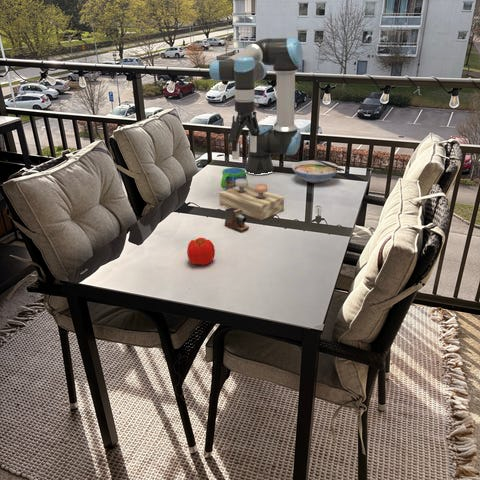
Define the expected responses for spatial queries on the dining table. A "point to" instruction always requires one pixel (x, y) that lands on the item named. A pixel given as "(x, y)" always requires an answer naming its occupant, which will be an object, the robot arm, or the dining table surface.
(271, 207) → the switch box
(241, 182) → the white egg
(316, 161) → the ramen bowl
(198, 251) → the tomato
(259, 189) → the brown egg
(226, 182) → the snack cup
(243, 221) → the electronic device
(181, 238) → the dining table surface
